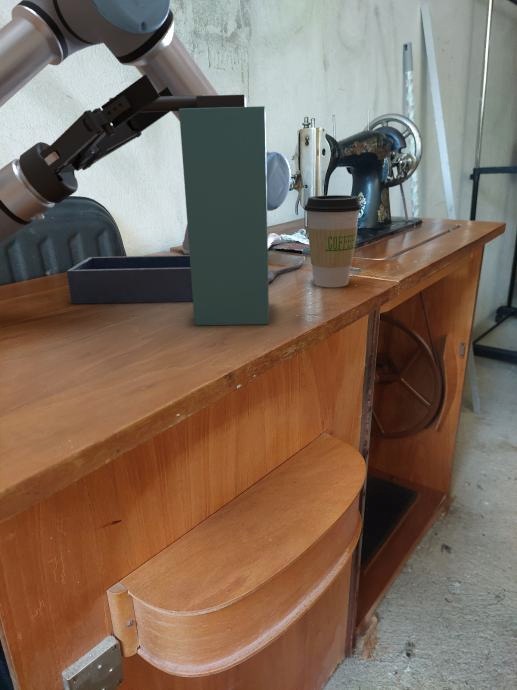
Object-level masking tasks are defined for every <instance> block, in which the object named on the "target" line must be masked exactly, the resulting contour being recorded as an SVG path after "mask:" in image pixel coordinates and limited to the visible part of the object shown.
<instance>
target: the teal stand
mask: <svg viewBox="0 0 517 690" xmlns="http://www.w3.org/2000/svg"><path fill="white" fill-rule="evenodd" d="M179 116H180V121H179V127H180V128H179V129H180V141H181V143H180V144H181V154H182V168H183V169H182V170H183V181H184V193H185V194H184V196H185V197H184V198H185V210H186V226H187V225H188V239H189V252H190V266H191V280H192V293H193V301H192V305H193V319H194V326H243V325H244V326H245V325H246V326H247V325H250V326H251V325H270V293H269V292H270V291H269V283H268V271H269V248H268V235H269V234H268V211H267V180H266V150H267V135H266V132H267V131H266V106H265V105H263V106H262V105H261V106H260V105H259V106H257V105H256V106H246V107H222V108H188V109H179Z"/></svg>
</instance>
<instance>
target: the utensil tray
mask: <svg viewBox="0 0 517 690" xmlns="http://www.w3.org/2000/svg"><path fill="white" fill-rule="evenodd" d="M66 277H67V282H68V289H69V295H70V301H71V305H72V304H74V305H79V304H83V305H84V304H129V303H130V304H131V303H133V304H134V303H175V302H176V303H180V302H193V293H192V280H191V266H190V255H185V254H183V255H182V254H177V255H176V254H175V255H174V254H173V255H169V254H168V255H159V256H147V255H133V256H131V255H130V256H129V255H127V256H89V257H87V258H86V259H83V260H82V261H80V262H79V263H77V264H76V265H74V266H73V267H70V268H69V269H68V270H66Z"/></svg>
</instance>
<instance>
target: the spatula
mask: <svg viewBox="0 0 517 690" xmlns="http://www.w3.org/2000/svg"><path fill="white" fill-rule="evenodd" d="M278 240H280V241H278ZM281 241H282V238H281V236H280V235H279V234H277V233H274V232H272V233H269V234H268V249H269V248H270V247H271V246H277V245H278V244H280V243H281ZM272 242H273V243H272ZM271 243H272V244H271ZM276 244H277V245H276Z"/></svg>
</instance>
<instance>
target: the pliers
mask: <svg viewBox="0 0 517 690" xmlns="http://www.w3.org/2000/svg"><path fill="white" fill-rule="evenodd" d="M302 264H303V263H302V260H301V259H299V260H298V262H297V263H295V264H293V265H289V266H283V267H280V268H276V269H272V270H268V284H269V283H270V282H272V281H273V280H274V279H275V277H276V276H277V275H279V274H282V273H285V272H289V271H292V270H297V269H298V268H299V267H301V266H302Z"/></svg>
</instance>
